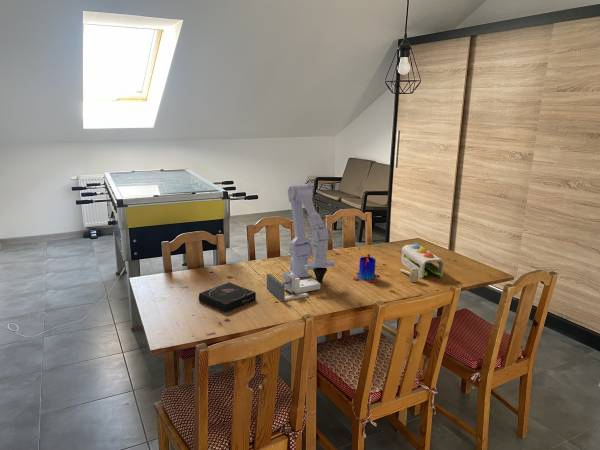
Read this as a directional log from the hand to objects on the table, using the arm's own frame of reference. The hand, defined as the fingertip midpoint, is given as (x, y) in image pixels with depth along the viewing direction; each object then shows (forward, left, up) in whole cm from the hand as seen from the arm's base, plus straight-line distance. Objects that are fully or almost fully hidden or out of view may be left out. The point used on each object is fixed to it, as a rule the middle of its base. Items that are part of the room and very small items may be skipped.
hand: (319, 282), depth 209 cm
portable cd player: (-3, -43, -3) cm, 43 cm away
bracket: (0, -8, -2) cm, 9 cm away
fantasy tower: (0, +26, -2) cm, 26 cm away
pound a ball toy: (+3, +54, -2) cm, 55 cm away
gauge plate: (+1, -16, -1) cm, 16 cm away
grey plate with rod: (0, -16, -2) cm, 16 cm away
